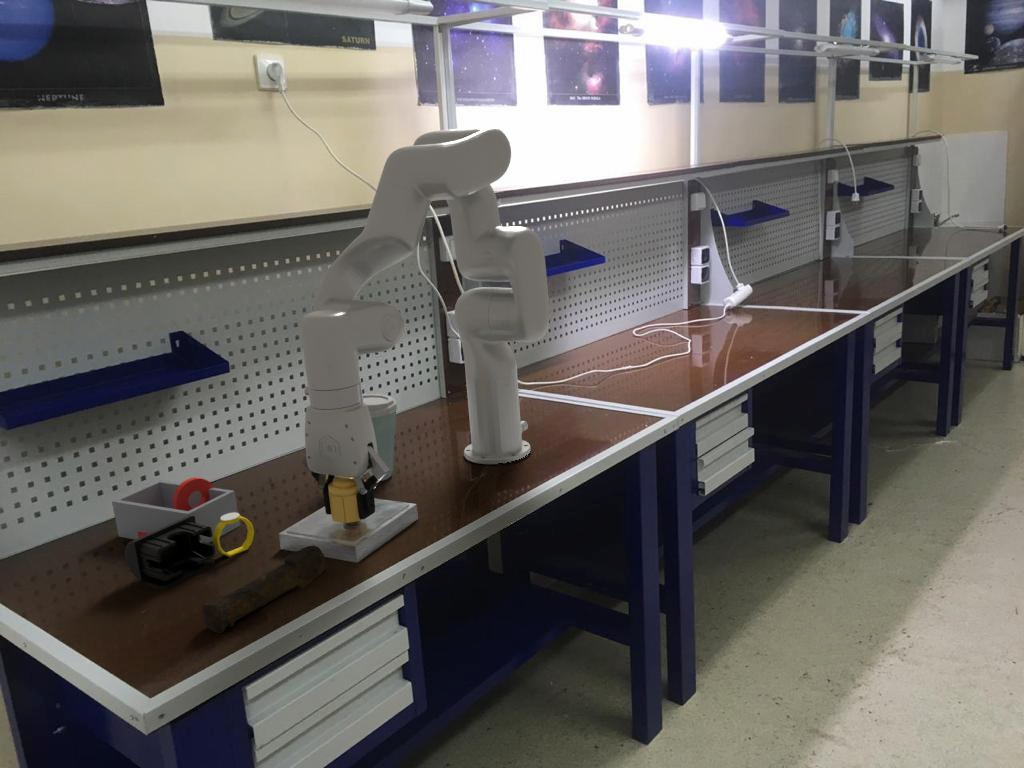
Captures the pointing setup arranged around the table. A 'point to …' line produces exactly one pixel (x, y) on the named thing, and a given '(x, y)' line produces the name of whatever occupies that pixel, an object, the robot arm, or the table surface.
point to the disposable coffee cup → (383, 426)
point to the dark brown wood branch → (265, 588)
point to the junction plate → (350, 531)
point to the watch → (231, 519)
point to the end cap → (170, 554)
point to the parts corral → (170, 509)
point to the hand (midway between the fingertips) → (350, 512)
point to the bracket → (186, 490)
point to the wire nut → (343, 499)
